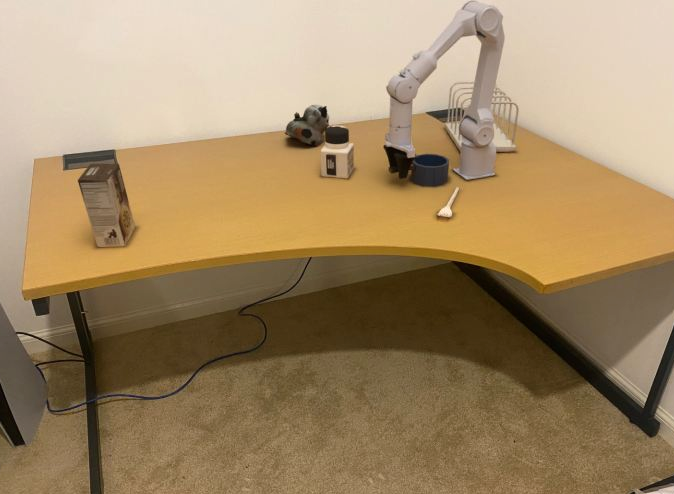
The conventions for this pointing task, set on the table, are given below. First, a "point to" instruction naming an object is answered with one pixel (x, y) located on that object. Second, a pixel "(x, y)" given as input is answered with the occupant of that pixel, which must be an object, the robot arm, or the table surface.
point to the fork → (448, 206)
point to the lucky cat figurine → (309, 125)
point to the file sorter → (499, 137)
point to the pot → (428, 170)
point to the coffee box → (107, 204)
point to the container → (337, 153)
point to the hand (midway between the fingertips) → (398, 174)
